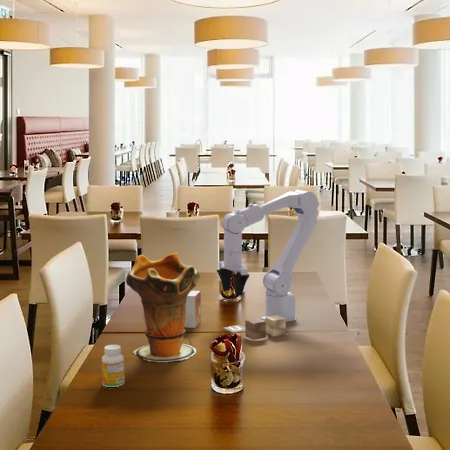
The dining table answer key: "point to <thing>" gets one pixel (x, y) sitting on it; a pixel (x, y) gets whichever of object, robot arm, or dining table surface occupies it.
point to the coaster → (257, 339)
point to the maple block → (275, 325)
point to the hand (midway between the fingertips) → (232, 293)
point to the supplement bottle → (112, 366)
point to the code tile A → (235, 328)
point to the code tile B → (275, 336)
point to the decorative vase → (163, 305)
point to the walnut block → (255, 328)
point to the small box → (193, 309)
